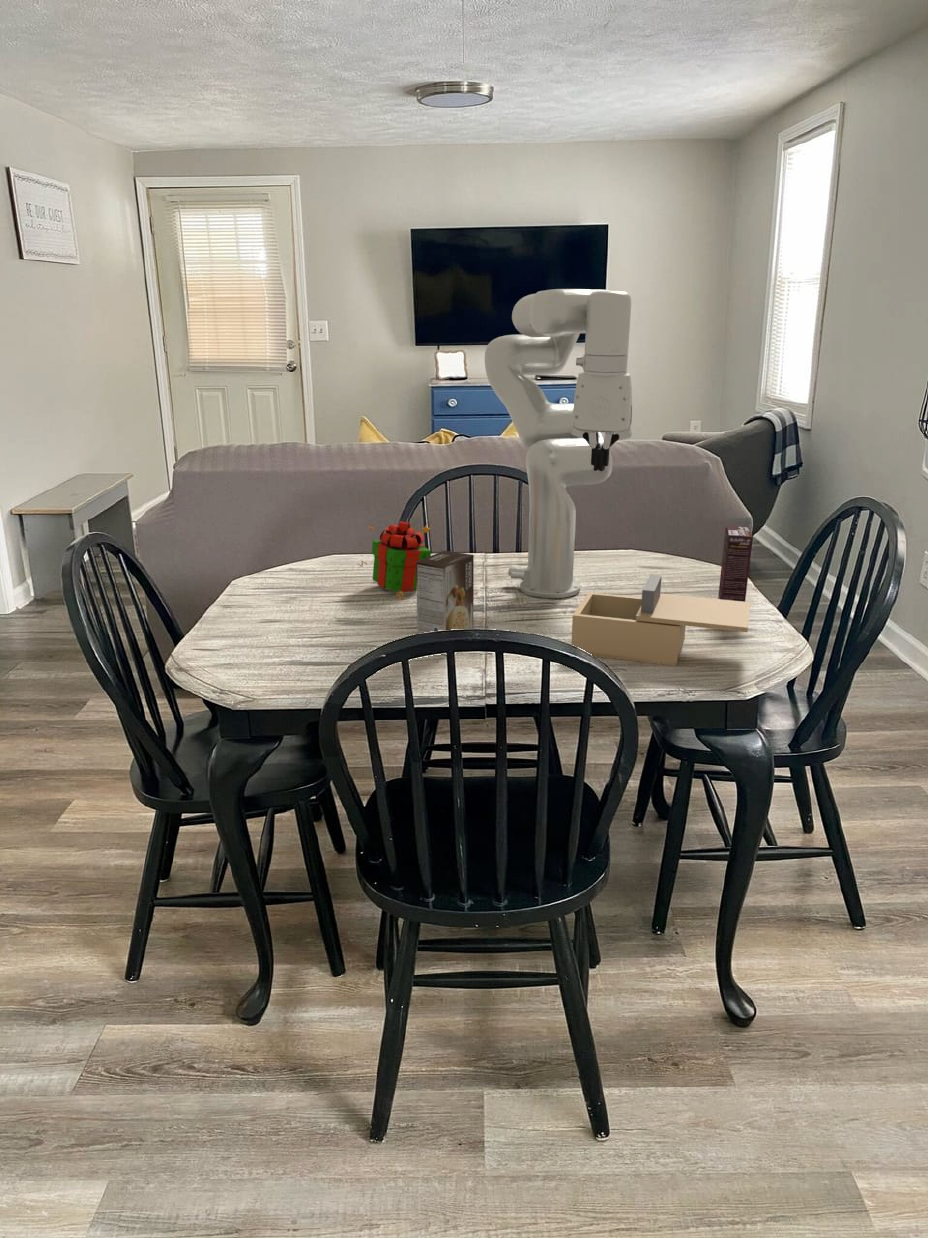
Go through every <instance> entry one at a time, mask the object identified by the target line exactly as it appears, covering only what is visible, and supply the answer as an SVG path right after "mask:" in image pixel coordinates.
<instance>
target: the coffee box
mask: <svg viewBox="0 0 928 1238" xmlns="http://www.w3.org/2000/svg"><path fill="white" fill-rule="evenodd" d="M474 556H475V555H474V554H468V553H464V552H463V553H462V552H457V551H450V550H443V551H440V552H437V553H435V554H433V555H432V554H431V556H429V557H427V558H424V559H422V560H419V561H417V562H416V587H417V589H416V623H417V626H416V627H417V629H416V631H417V632H416V633H417V634H419V633H424V632H430V631H438V630H451V629H473V630H474V626H475V625H474V624H475V623H474V622H475V621H474V611H475V609H474V596H475V595H474V593H475V592H474V587H475V586H474V585H475V584H474V581H475V580H474V575H475V573H474V563H475V562H474V561H475V560H474Z"/></svg>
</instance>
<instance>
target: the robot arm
mask: <svg viewBox="0 0 928 1238" xmlns="http://www.w3.org/2000/svg"><path fill="white" fill-rule="evenodd" d="M511 312H512V314H511V320H512V321H511V322H512V323H513V325H514V327H515V329H516V330H517V332H519V334H507V335H503V336H498V337H496V338H494V339H492V340H491V341H490V342H489V343H488V344H487V346H486V348H485V351H484V352H485V353H484V367H485V368H484V369H485V373H486V376H487V380H488V383H489V385H490V387H491V389H492V390H493V392H494V394H495V395H496V397H497V398H498V399H499V400H500V402H501V403H502V404H503V406H504V407H505V408H506V410H507V413H508V414H509V416H510V419H511V421H512V424H513V426H514V428H515V430H516V432H517V434H518V437H519V438H520V440H521V442H522V443H523V445H524V446H525V447H526V448H527V449H528V450H527V452H526V456H525V464H526V465H525V466H526V473H527V481H528V482H527V483H528V494H529V496H528V497H529V510H528V511H529V514H528V518H529V519H528V548H527V550H528V552H527V566H524V567H523V568H520V567H515V566H509V567H508V571H507V572H508V573H507V575H508V576H509V577H510V578H511V579H517V580H518V579H519V580H521V582H520V583H519V590H520V591H521V592H522V593H524V594H526V595H528V596H531V597H536V598H540V599H541V598H542V599H562V598H568V597H573V596H576V595H577V594H579V592H580V590H581V586H580V584H579V583H578V581H575V580H574V563H575V562H574V560H575V558H574V557H575V543H576V542H575V541H576V540H575V538H576V520H577V519H576V513H577V510H576V505H575V503H574V500H573V499H572V497H571V496H570V495H569V493H568V492H567V489H566V488H567V487H572V486H586V485H587V486H588V485H597V484H600V483H603V482H605V481H607V479H608V478H609V477H610V476H611V474H612V471H613V456H612V452H611V446H613V445H615V443H616V442H617V441H622V440H628V439H630V438H632V437H633V432H632V428H631V426H632V421H633V391H632V390H633V388H632V377H631V373H628V360H629V359H628V357H629V346H630V344H629V342H630V329H631V315H632V297H631V295H630V294H629V293H628V292H626V291H623V290H622V291H621V290H611V289H610V290H609V289H589V288H587V289H586V288H555V289H546V290H540V291H537V292H536V293H531V294H528V295H526V296H525V295H524V296H523V297H522V298H520V299H519V300H518V301H517V302H516V304H515V305H514V306H513V310H512V311H511ZM580 334H585V338H584V340H585V341H584V354H583V356H581V357H576V359H575V365H576V366H579V367H581V368H582V371H583V372H579V373H578V375H577V380H576V384H575V390H574V397H573V403H553V402H549V401H548V398H547V397H546V395H545V392H544V391H543V389H541V387H540V386H539V385H537V383H536V382H534V381H533V380H532V379H529V378H528V377H526V376H547V375H555V374H559V373H560V372H561V371H562V370H563V369H564V368H565V366H566V364H567V363H568V361H569V358H570V356H571V354H572V351H573V349H574V347H575V345H576V344H577V341H578V339H579V337H580ZM603 433H604V434H603Z"/></svg>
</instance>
